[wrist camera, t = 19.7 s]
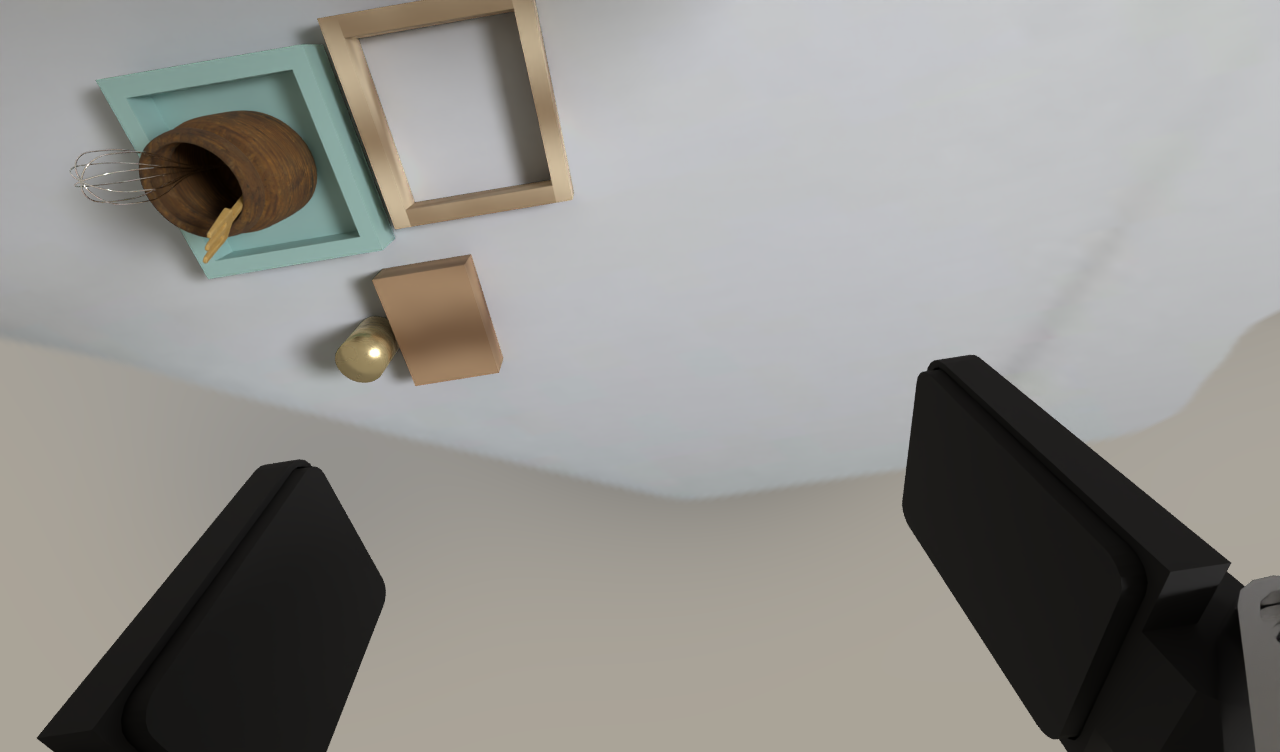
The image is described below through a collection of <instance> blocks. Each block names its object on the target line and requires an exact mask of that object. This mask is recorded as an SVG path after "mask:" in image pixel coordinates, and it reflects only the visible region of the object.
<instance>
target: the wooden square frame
mask: <svg viewBox="0 0 1280 752" xmlns="http://www.w3.org/2000/svg"><path fill="white" fill-rule="evenodd" d="M508 12H515V17H516V21H517V26H518V30H519V35H520V39H521V44H522V48H523V53H524V58H525V62H526V67H527V71H528V76H529V80H530V85H531V89H532V94H533V99H534V103H535V108H536V112H537V117H538V121H539V126H540V130H541V135H542V140H543V144H544V149H545V153H546V158H547V162H548V167H549V172H550V176H551V180H546V181H540V182H535V183H529V184H523V185H517V186H511V187H505V188H499V189H493V190H487V191H481V192H475V193H469V194H463V195H457V196H451V197H445V198H439V199H433V200H427V201H421V202H414V199H413V196H412V193H411V190H410V187H409V184H408V181H407V178H406V176H405V173H404V170H403V167H402V164H401V161H400V158H399V155H398V152H397V149H396V146H395V144H394V141H393V138H392V135H391V132H390V129H389V126H388V123H387V120H386V117H385V115H384V112H383V109H382V106H381V103H380V100H379V97H378V94H377V91H376V88H375V86H374V83H373V80H372V77H371V74H370V71H369V68H368V65H367V62H366V59H365V56H364V54H363V51H362V48H361V45H360V42H359V39H358V38H364V37H370V36H375V35H381V34H387V33H393V32H398V31H404V30H410V29H416V28H421V27H427V26H433V25H439V24H445V23H450V22H456V21H462V20H468V19H473V18H479V17H485V16H491V15H496V14H502V13H508ZM317 20H318V22H319V25H320V28H321V30H322V33H323V36H324V39H325V41H326V44H327V47H328V49H329V52H330V55H331V57H332V60H333V63H334V66H335V68H336V71H337V74H338V76H339V79H340V82H341V84H342V87H343V90H344V93H345V95H346V98H347V101H348V103H349V106H350V109H351V111H352V114H353V117H354V120H355V122H356V125H357V128H358V130H359V133H360V136H361V138H362V141H363V144H364V147H365V149H366V152H367V155H368V157H369V160H370V163H371V165H372V168H373V171H374V174H375V176H376V179H377V182H378V184H379V187H380V190H381V192H382V195H383V198H384V201H385V203H386V206H387V209H388V211H389V214H390V217H391V219H392V222H393V225H394V228H395V229H400V228H406V227H412V226H418V225H424V224H430V223H436V222H442V221H448V220H454V219H460V218H466V217H472V216H478V215H484V214H490V213H496V212H502V211H508V210H514V209H520V208H526V207H532V206H538V205H544V204H550V203H556V202H562V201H568V200H573V194H574V191H573V186H572V181H571V176H570V171H569V166H568V161H567V156H566V151H565V146H564V142H563V137H562V132H561V127H560V122H559V117H558V112H557V107H556V102H555V97H554V92H553V87H552V82H551V77H550V72H549V67H548V62H547V57H546V52H545V47H544V43H543V38H542V33H541V28H540V23H539V18H538V13H537V8H536V3H535V0H421V1H415V2H410V3H404V4H398V5H392V6H387V7H381V8H375V9H369V10H364V11H358V12H352V13H347V14H341V15H335V16H329V17H324V18H318V19H317Z"/></svg>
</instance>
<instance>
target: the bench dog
mask: <svg viewBox="0 0 1280 752" xmlns="http://www.w3.org/2000/svg"><path fill="white" fill-rule="evenodd" d="M399 348H400V347H399V345H398V342H397V340H396V337H395V335H394V332H393V330H392V328H391V325H390V323H389V320H388V319H387V318H384V317H379V316H373V317H369V318H367V319H365V320H363V321H362V322H361V324H360V325H359V326H358V327H357V328H356V329H355V330H354V332H353V333H352V334H351V335H350V336H349V337H348V338H347V340H346V341H345V342H344V343H343V344H342V345H341V346H340V348H339V349H338V350H337V352H336V355H335V361H336V365H337V367H338V369H339V370H340V371H341V373H342V374H343V375H345V376H346V377H347V378H349V379H351V380H353V381H356V382H362V383H367V382H372V381H375V380H376V379H378V378H379V377H380V376H381V375H382V373H383V372H384V370H385V369H386V367H387V366H388V364H389V363H390V361H391V360H392V358H393V357H394V355H395V354H396V352H397V351H398V349H399Z"/></svg>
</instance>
